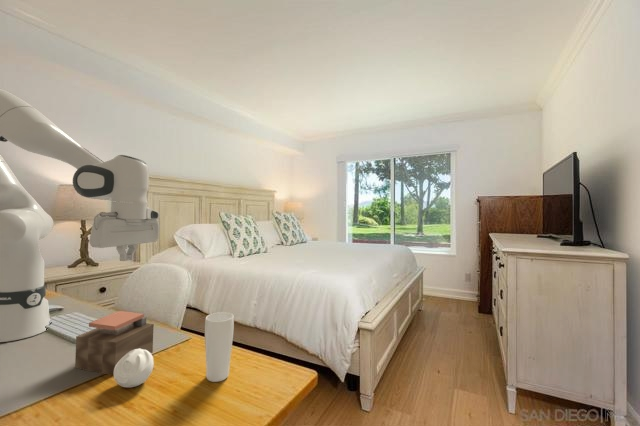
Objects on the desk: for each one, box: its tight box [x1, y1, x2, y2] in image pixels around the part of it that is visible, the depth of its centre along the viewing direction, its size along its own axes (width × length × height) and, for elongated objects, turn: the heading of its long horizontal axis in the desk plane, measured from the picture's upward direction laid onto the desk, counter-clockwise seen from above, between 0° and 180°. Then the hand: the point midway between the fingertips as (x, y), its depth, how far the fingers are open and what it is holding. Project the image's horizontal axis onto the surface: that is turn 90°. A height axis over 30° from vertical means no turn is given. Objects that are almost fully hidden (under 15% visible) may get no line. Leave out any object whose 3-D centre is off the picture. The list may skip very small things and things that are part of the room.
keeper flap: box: [88, 310, 145, 330], centre depth 78 cm, size 9×8×1 cm
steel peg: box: [100, 322, 134, 335], centre depth 78 cm, size 5×5×9 cm
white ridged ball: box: [113, 348, 155, 389], centre depth 68 cm, size 8×8×8 cm
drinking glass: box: [204, 311, 235, 383], centre depth 72 cm, size 7×7×15 cm
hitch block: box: [74, 316, 154, 376], centre depth 78 cm, size 12×12×10 cm
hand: (126, 260), depth 84 cm, fingers closed
